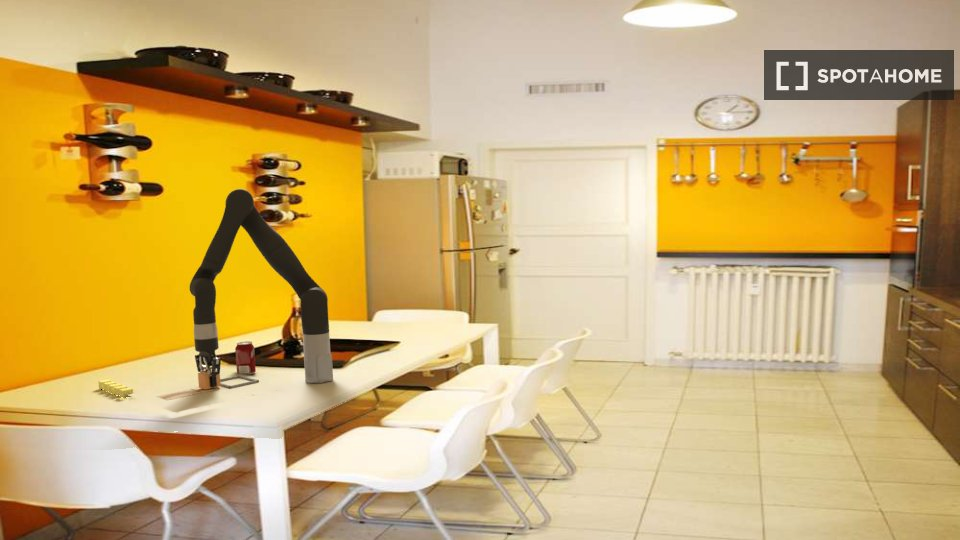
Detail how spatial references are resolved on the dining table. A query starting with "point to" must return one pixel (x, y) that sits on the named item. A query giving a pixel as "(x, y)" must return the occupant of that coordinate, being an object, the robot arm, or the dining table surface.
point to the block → (207, 380)
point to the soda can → (245, 358)
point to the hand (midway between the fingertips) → (209, 385)
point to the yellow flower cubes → (115, 388)
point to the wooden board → (185, 393)
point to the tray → (238, 384)
